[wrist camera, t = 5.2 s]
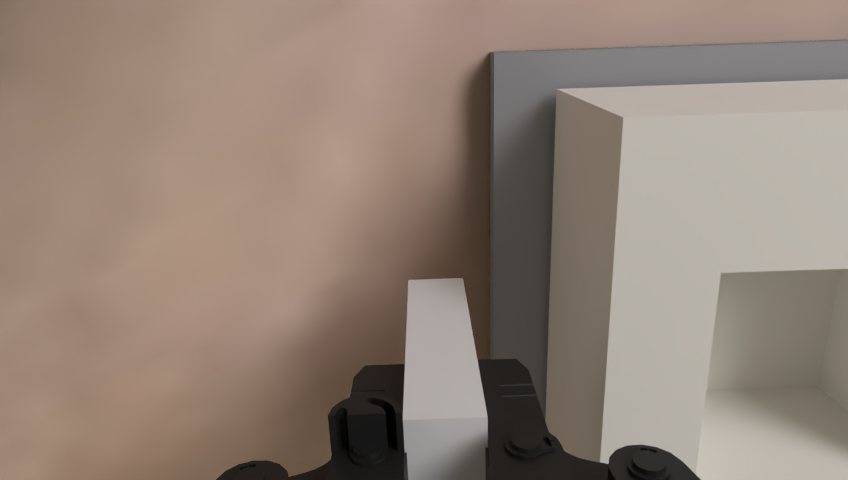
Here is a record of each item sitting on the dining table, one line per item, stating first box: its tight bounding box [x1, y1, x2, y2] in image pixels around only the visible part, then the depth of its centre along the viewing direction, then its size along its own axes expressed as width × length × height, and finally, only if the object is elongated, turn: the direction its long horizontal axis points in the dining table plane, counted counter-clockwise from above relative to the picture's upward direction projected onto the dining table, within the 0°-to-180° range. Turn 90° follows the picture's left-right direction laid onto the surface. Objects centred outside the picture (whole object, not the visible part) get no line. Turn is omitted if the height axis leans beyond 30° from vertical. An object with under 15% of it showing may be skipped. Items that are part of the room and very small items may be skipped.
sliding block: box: [545, 79, 848, 480], centre depth 17 cm, size 12×10×6 cm
